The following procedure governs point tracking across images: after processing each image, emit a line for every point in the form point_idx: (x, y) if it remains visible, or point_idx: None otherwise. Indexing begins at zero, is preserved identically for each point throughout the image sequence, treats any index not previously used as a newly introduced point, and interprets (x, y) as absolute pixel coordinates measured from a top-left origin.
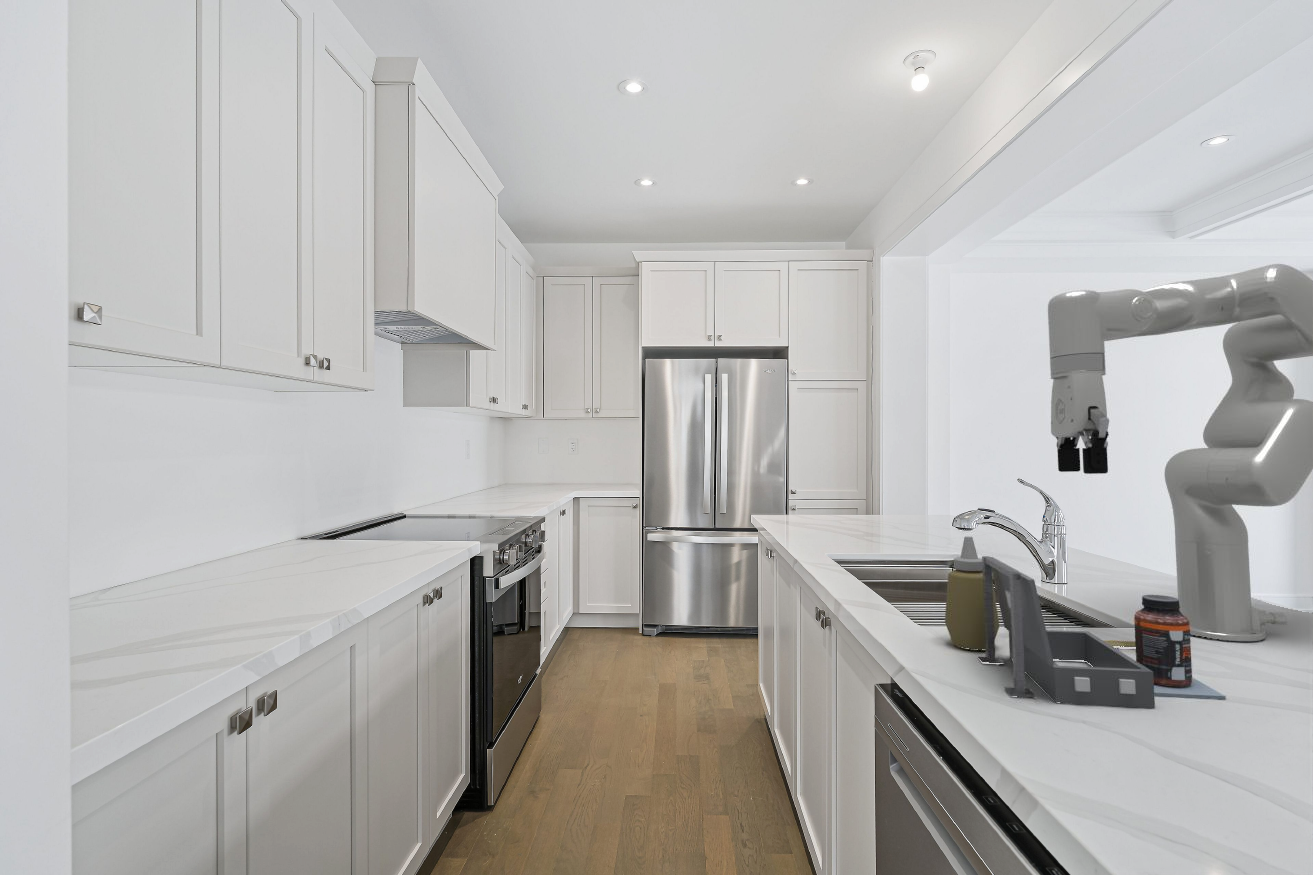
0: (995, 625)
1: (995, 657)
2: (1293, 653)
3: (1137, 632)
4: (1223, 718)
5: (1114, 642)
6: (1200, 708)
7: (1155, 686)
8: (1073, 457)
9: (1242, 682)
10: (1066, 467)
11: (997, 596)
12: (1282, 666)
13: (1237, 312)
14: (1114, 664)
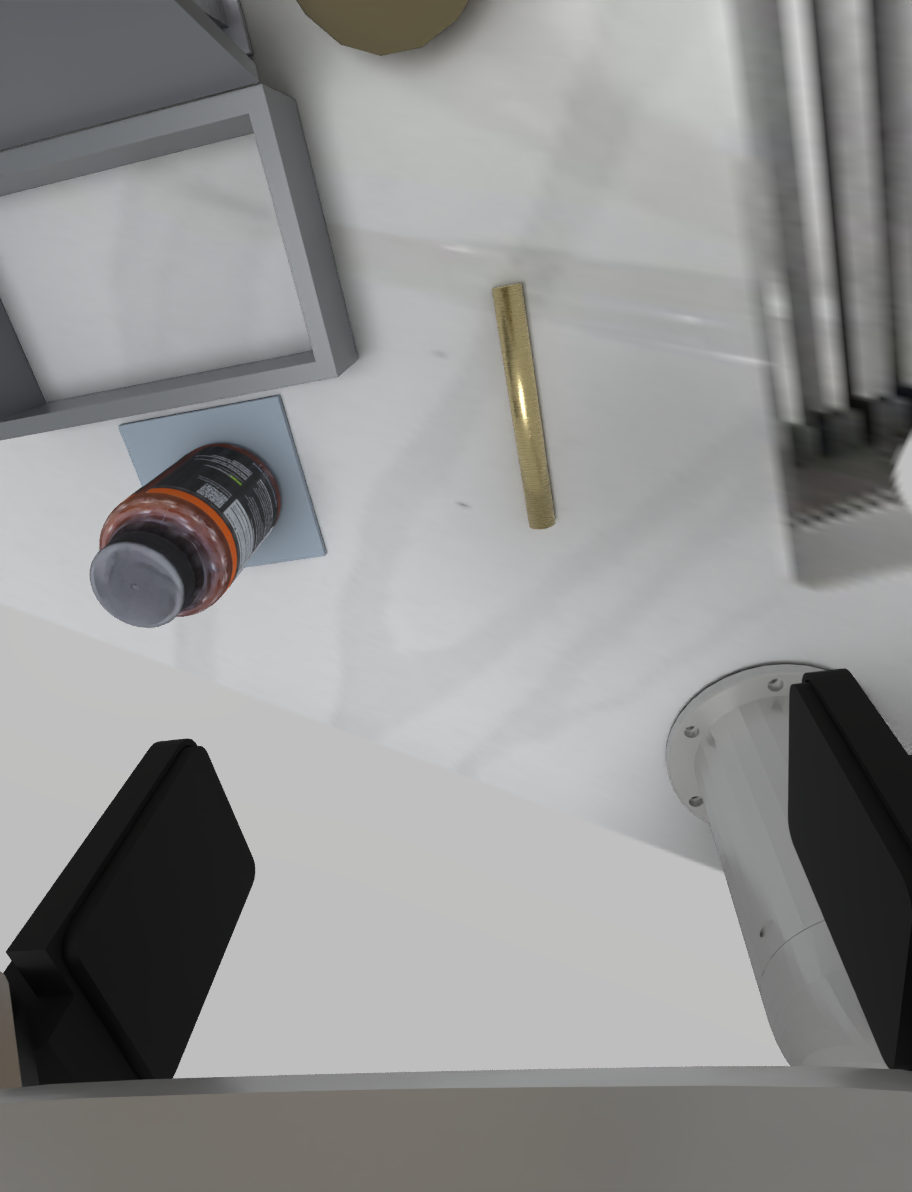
0: (326, 30)
1: (244, 38)
2: (593, 811)
3: (160, 481)
4: (57, 529)
5: (523, 466)
6: (95, 509)
7: (175, 461)
8: (845, 913)
9: (321, 644)
10: (802, 753)
11: (194, 4)
12: (477, 754)
13: None
14: (147, 389)
